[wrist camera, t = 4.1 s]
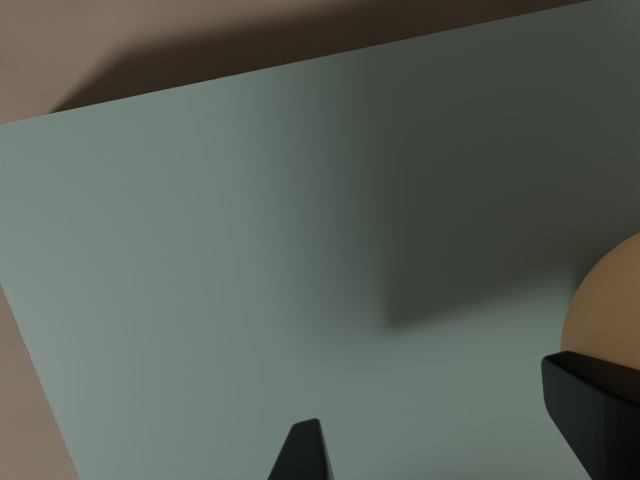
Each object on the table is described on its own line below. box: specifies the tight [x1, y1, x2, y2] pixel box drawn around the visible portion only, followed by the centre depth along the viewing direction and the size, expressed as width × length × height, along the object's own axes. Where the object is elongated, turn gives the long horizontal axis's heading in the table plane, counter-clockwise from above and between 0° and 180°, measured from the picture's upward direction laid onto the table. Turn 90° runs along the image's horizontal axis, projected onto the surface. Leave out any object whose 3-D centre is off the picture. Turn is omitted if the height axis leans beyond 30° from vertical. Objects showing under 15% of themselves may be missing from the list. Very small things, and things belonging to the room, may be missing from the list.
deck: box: [0, 0, 640, 480], centre depth 11 cm, size 12×22×3 cm, turn 102°
